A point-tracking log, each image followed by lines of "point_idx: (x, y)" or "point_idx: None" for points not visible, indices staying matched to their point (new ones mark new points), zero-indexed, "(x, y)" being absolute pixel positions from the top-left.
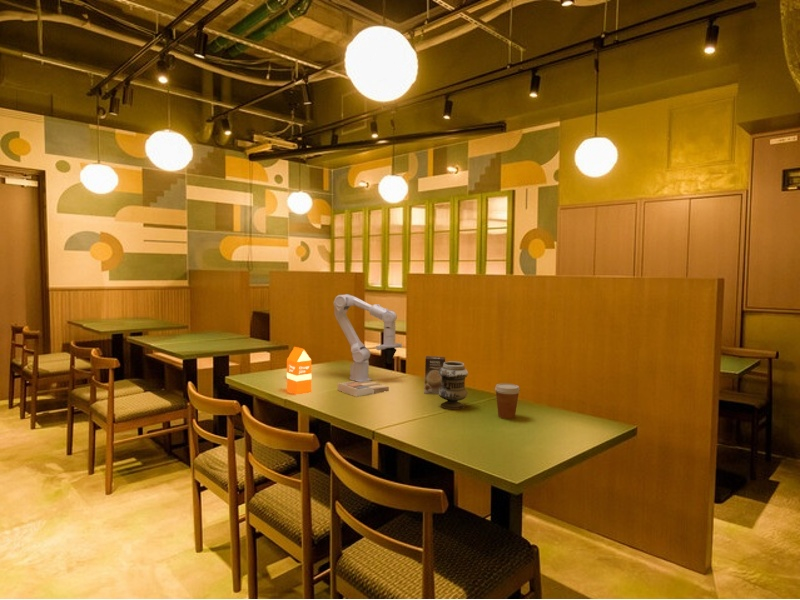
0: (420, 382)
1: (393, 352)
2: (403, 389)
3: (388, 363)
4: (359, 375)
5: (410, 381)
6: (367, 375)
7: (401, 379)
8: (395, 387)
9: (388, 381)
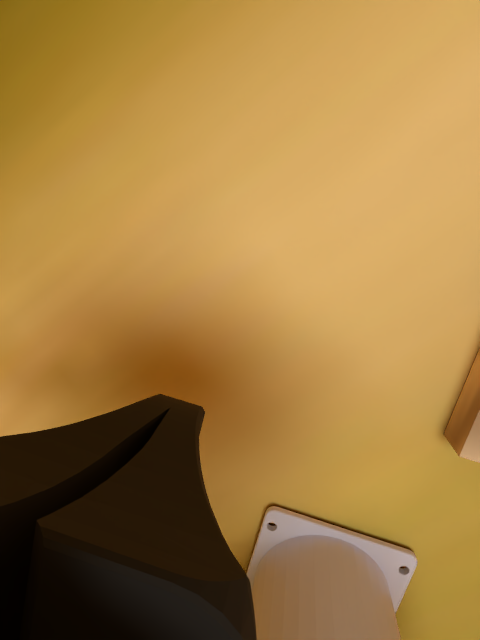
0: (32, 80)
1: (8, 471)
2: (412, 11)
3: (200, 429)
4: (396, 620)
5: (68, 192)
6: (314, 567)
7: (65, 312)
8: (382, 150)
9: (208, 363)
